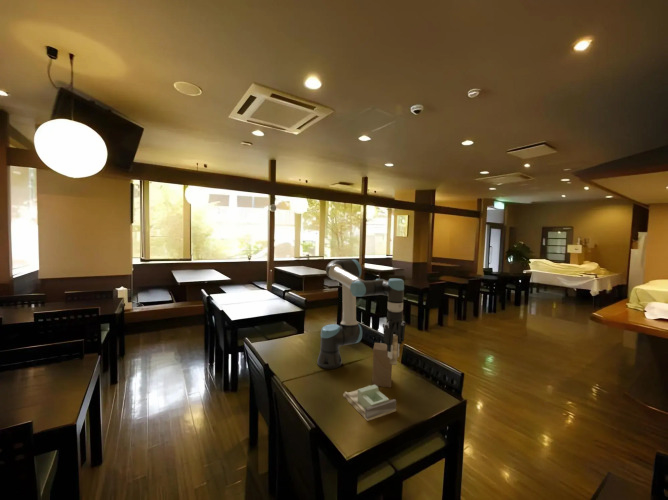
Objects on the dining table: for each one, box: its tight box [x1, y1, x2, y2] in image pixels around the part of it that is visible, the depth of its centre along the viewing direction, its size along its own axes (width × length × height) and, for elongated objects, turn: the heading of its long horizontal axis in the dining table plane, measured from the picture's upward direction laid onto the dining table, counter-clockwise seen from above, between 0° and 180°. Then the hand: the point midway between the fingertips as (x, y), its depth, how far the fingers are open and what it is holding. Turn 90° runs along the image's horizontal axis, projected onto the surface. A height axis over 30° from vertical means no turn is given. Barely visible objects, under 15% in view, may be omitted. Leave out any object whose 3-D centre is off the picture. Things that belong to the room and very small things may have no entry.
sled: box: [357, 384, 390, 409], centre depth 131 cm, size 11×10×6 cm
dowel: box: [389, 333, 398, 366], centre depth 139 cm, size 4×4×14 cm
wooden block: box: [371, 342, 393, 388], centre depth 154 cm, size 10×10×20 cm
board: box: [342, 385, 397, 422], centre depth 134 cm, size 21×16×5 cm
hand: (393, 356), depth 139 cm, fingers closed on dowel, 3 cm apart
